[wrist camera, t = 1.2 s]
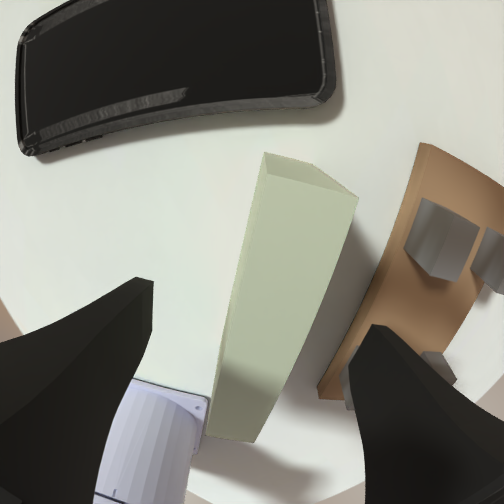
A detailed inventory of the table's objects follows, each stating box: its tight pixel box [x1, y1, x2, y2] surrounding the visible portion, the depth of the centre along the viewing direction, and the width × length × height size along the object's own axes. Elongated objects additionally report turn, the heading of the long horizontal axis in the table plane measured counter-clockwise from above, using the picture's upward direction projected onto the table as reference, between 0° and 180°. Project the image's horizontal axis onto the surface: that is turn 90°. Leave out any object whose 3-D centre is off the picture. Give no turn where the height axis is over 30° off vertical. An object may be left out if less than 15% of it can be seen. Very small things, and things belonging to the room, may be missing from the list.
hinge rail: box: [317, 142, 504, 410], centre depth 12 cm, size 15×7×4 cm, turn 168°
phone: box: [15, 0, 336, 156], centre depth 9 cm, size 8×1×15 cm
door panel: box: [205, 152, 359, 443], centre depth 10 cm, size 10×2×6 cm, turn 168°
